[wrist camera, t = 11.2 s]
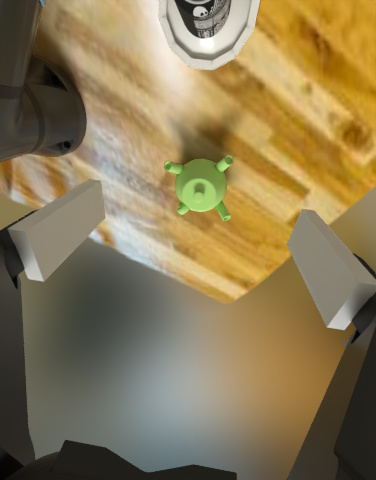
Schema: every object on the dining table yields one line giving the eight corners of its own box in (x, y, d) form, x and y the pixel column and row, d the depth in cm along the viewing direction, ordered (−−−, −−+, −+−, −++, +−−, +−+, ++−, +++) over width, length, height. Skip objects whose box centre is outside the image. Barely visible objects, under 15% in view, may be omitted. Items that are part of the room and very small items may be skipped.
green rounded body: (175, 208, 46) (168, 227, 39) (169, 151, 40) (159, 161, 33) (229, 207, 45) (231, 227, 37) (231, 148, 38) (234, 158, 31)
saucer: (159, 64, 33) (157, 62, 32) (163, -73, 26) (161, -83, 25) (243, 75, 33) (244, 74, 31) (271, -62, 26) (274, -71, 24)
